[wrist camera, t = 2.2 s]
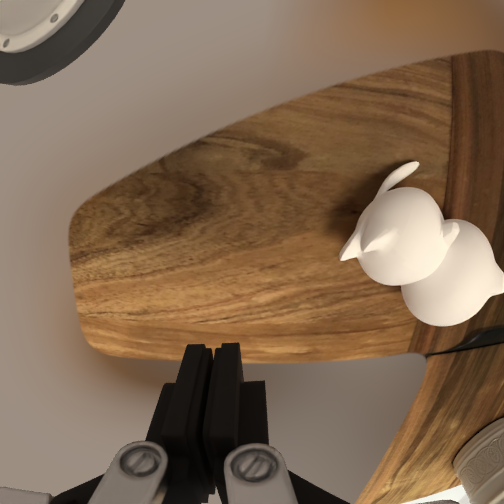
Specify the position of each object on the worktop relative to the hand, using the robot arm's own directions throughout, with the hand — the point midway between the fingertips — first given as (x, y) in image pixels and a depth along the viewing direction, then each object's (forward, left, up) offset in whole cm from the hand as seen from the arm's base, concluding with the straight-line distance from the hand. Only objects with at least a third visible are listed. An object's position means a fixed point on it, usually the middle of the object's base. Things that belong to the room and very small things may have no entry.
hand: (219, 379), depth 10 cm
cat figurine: (+7, +12, -14) cm, 20 cm away
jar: (+49, +12, -14) cm, 52 cm away
